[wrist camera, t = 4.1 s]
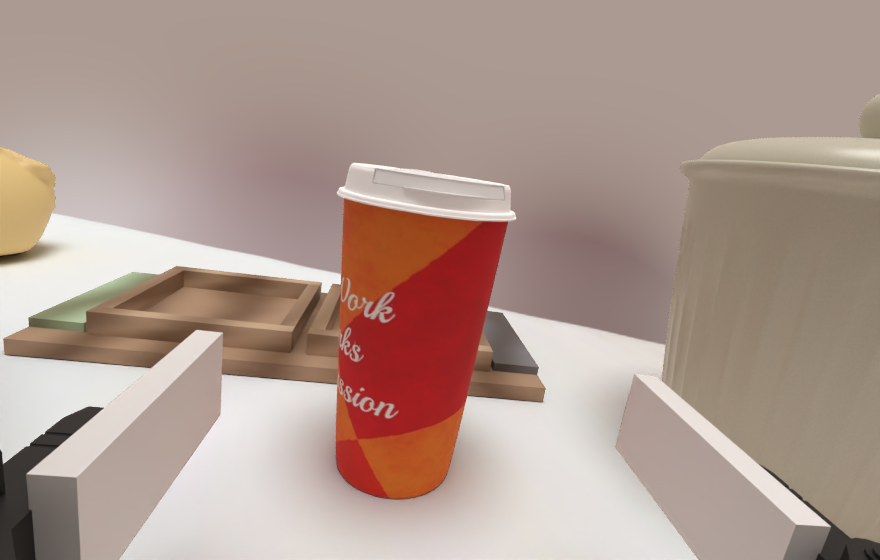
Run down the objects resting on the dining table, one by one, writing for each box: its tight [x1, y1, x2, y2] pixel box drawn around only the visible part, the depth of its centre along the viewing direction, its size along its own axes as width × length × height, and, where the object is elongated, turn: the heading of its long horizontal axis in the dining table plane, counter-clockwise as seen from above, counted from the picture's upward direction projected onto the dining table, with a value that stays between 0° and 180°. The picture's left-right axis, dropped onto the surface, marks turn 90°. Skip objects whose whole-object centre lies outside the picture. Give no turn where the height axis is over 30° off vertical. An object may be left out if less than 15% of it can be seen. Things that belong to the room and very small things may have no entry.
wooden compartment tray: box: [3, 266, 546, 402], centre depth 37 cm, size 33×16×2 cm, turn 95°
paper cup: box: [336, 163, 516, 499], centre depth 22 cm, size 8×8×14 cm
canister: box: [662, 94, 880, 543], centre depth 24 cm, size 18×18×21 cm
